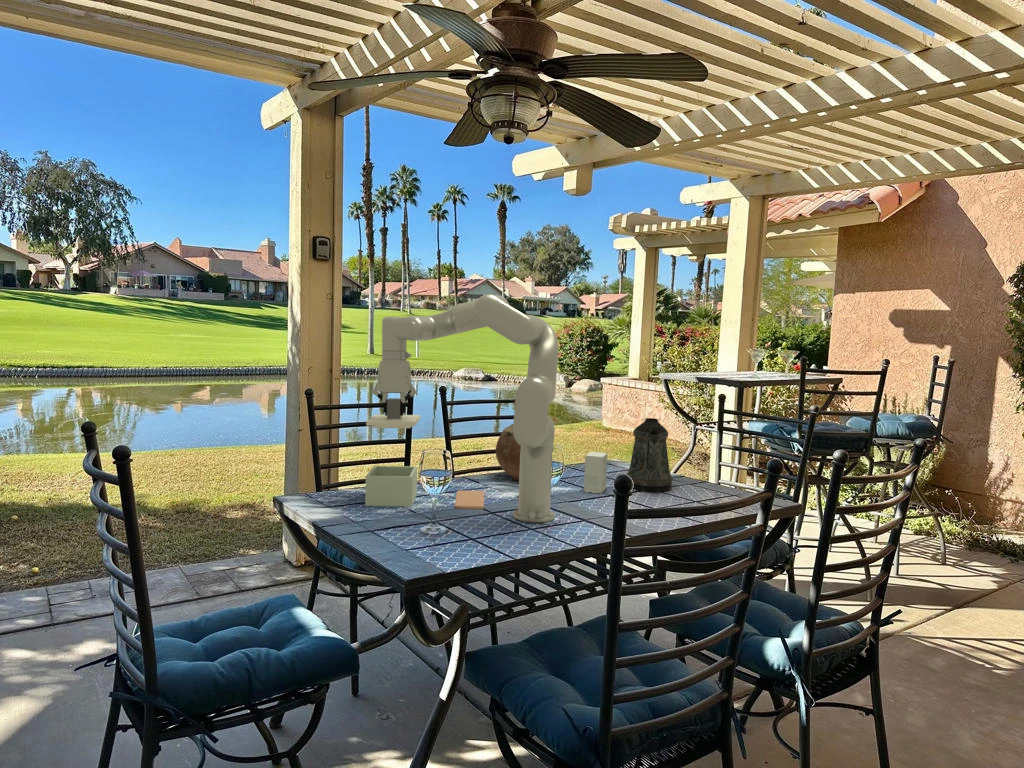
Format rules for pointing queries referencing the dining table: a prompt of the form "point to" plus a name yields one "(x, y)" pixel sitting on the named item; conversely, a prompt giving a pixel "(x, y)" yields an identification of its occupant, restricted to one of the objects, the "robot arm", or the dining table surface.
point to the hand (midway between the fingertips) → (394, 414)
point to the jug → (509, 452)
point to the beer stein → (650, 458)
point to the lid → (393, 417)
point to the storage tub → (391, 486)
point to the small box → (595, 472)
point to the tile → (469, 500)
